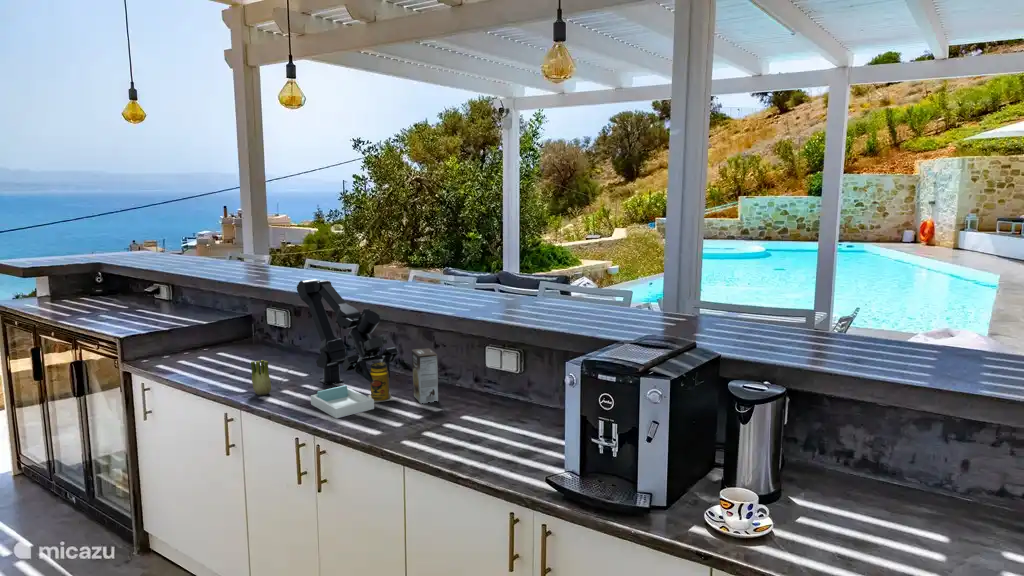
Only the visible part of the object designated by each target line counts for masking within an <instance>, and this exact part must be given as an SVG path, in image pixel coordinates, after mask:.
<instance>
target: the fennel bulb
mask: <svg viewBox="0 0 1024 576" xmlns="http://www.w3.org/2000/svg"><path fill="white" fill-rule="evenodd" d="M250 365H251V367H250V368H251V384H252V387H253V391H254V393H255V394H256V395H257V396H265V395H268V394H270V393H271V391H272V381H271V377H270V373H269V361H268V360H264V359H261V360H256V361H254V360H253V361H250Z"/></svg>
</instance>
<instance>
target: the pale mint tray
mask: <svg viewBox="0 0 1024 576" xmlns="http://www.w3.org/2000/svg"><path fill="white" fill-rule="evenodd" d="M347 393H348V397H343V398H339V399H335V400H331V401H324V400H322V399H320V398H318V395H317V393H316V394H311V395H310V404H311V406H313V407H315V408H317V409H318V410H320V411H322V412H324V413H326V415H329V416H331V417H333V418H335V419H339V418H343V417H346V416H347V417H348V416H350V415H355V414H359V413H363V412H367V411H371V410H374V409H375V402H374V399H372V398H369V396H368V395H365V394H363V393H360V392H358V391H357V390H354V389H352V388H351V387H348V386H347Z"/></svg>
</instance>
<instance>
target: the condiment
mask: <svg viewBox="0 0 1024 576" xmlns="http://www.w3.org/2000/svg"><path fill="white" fill-rule="evenodd" d="M369 373H370V375H371V377H372V379H373V382H372V383H371V382H369V383H370V394H369V395H367V397H369V398H372V399H374V403H381V402H389V401H394V398H393V396H392V395H391V392H390V378H389V373H388V371H387V364H386V363H384V362H381V361H379V362H378V361H376V362H374V363H372V364H370V372H369Z"/></svg>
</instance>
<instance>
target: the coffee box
mask: <svg viewBox="0 0 1024 576" xmlns="http://www.w3.org/2000/svg"><path fill="white" fill-rule="evenodd" d="M411 363H412V365H411V366H412V385H413V387H412V389H413V390H412V391H413V398H415V399H416V400H417V401H418V402H419V404H421V405H422V403H423V404H428V402H430V403H435V402H434V401H437V402H439V374H438V373H439V372H438V371H439V369H438V354H437V353H436V351H434V350H433V349H431V348H429V347H428V348H416V349H411Z"/></svg>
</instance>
